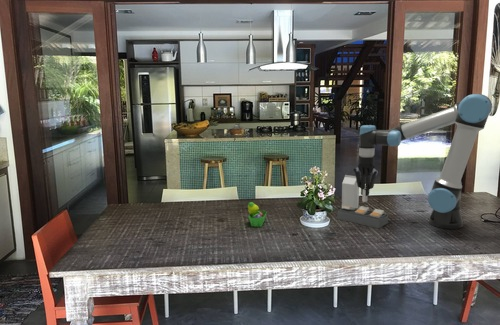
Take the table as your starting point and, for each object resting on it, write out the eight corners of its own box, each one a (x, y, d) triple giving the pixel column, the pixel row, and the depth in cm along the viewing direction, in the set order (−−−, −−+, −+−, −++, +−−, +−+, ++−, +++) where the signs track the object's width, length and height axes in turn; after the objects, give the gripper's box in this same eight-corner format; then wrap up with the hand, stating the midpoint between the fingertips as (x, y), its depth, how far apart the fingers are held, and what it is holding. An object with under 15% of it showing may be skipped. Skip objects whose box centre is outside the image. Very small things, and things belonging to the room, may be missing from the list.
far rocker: (355, 209, 212) (355, 207, 212) (349, 209, 207) (349, 206, 207) (347, 208, 215) (348, 205, 215) (341, 207, 210) (342, 205, 210)
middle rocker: (369, 209, 206) (369, 207, 206) (363, 215, 202) (363, 213, 201) (361, 208, 209) (361, 205, 209) (355, 213, 205) (355, 211, 204)
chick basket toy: (263, 227, 199) (263, 205, 197) (245, 226, 201) (245, 205, 199) (267, 220, 210) (266, 199, 208) (250, 219, 212) (250, 199, 210)
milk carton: (353, 210, 225) (354, 177, 222) (341, 208, 229) (342, 176, 226) (358, 207, 230) (359, 175, 227) (346, 205, 235) (347, 174, 231)
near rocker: (384, 212, 201) (383, 210, 200) (378, 218, 196) (378, 216, 196) (375, 210, 204) (375, 208, 203) (369, 216, 199) (369, 214, 199)
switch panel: (387, 223, 202) (388, 213, 201) (378, 228, 195) (379, 218, 194) (347, 214, 218) (347, 205, 217) (337, 218, 211) (337, 209, 210)
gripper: (382, 156, 201) (380, 202, 205) (358, 154, 210) (356, 197, 214) (375, 158, 195) (373, 205, 199) (351, 155, 204) (349, 200, 208)
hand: (364, 201), depth 207 cm, fingers closed
